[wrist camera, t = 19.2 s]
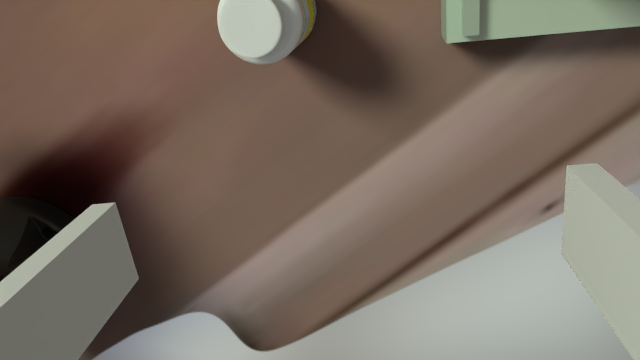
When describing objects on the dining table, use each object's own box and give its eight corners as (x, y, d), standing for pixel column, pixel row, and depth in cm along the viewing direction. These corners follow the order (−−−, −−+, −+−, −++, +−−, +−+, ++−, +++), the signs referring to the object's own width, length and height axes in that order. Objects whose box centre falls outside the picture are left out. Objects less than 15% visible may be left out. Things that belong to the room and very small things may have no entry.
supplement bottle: (233, 5, 39) (184, 17, 30) (286, -45, 37) (251, -48, 28) (279, 61, 41) (247, 90, 31) (332, 16, 39) (314, 32, 29)
